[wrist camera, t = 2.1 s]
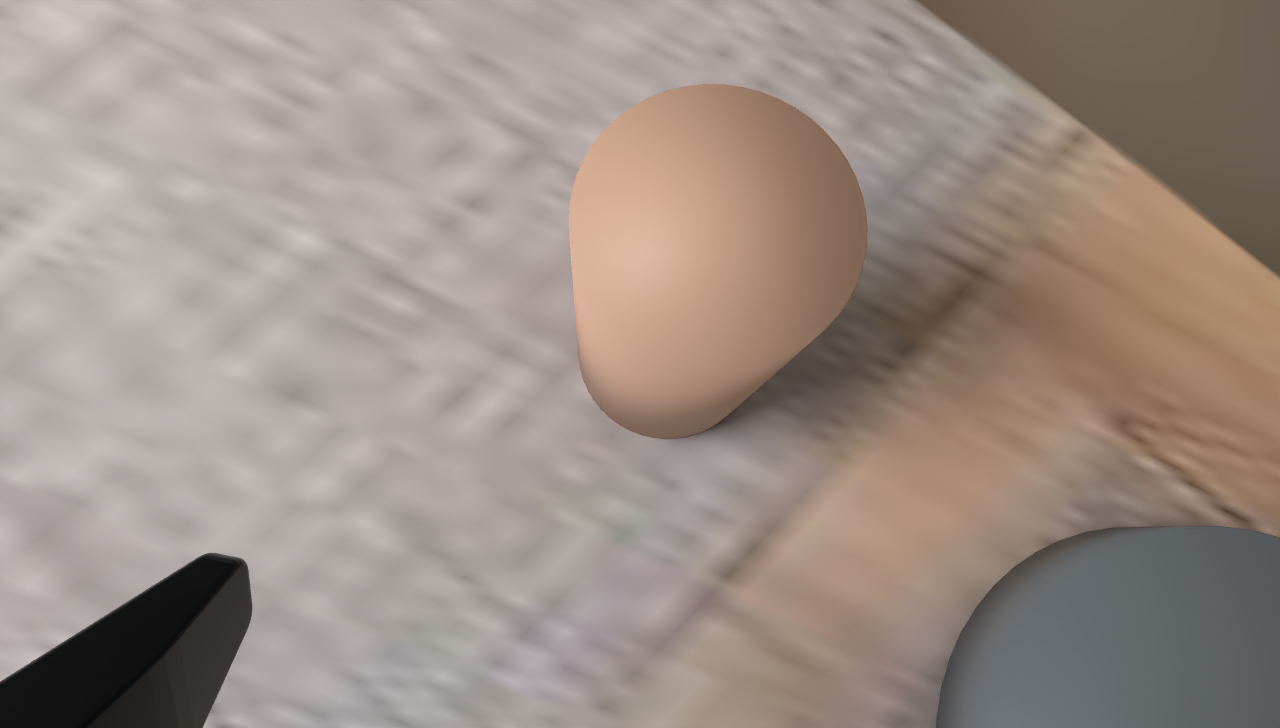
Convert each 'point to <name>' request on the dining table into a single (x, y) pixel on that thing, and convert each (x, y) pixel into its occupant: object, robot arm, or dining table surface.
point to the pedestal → (1125, 635)
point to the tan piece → (707, 253)
